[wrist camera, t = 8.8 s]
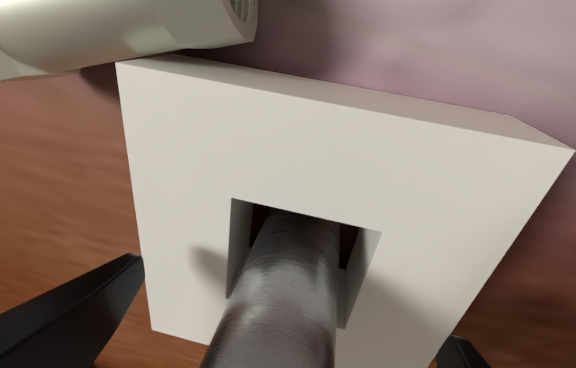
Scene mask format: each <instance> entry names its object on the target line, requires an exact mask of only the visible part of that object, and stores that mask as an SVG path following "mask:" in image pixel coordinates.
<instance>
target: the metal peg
mask: <svg viewBox="0 0 576 368" xmlns="http://www.w3.org/2000/svg"><path fill="white" fill-rule="evenodd" d="M339 248H340V222H336V221H332V220H327V219H323V218H319V217H314V216H310V215H305V214H301V213H297V212H292V211H288V210H283V209H279V208H275V207H270V209H269V211H268V213H267V215H266V218H265V220H264V222H263V224H262V227H261V229H260V231H259V233H258V236H257V238H256V240H255V243H254V245H253V247H252V249H251V252H250V254H249V256H248V258H247V261H246V263H245V265H244V267H243V270H242V272H241V274H240V277H239V279H238V281H237V283H236V286H235V288H234V290H233V292H232V295H231V297H230V299H229V301H228V304H227V306H226V308H225V310H224V313H223V315H222V317H221V320H220V322H219V324H218V326H217V329H216V331H215V333H214V335H213V338H212V340H211V342H210V344H209V347H208V349H207V351H206V354H205V356H204V358H203V360H202V363H201V365H200V367H199V368H335V348H336V323H337V298H338V273H339Z"/></svg>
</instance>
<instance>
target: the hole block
mask: <svg viewBox="0 0 576 368" xmlns="http://www.w3.org/2000/svg"><path fill="white" fill-rule="evenodd" d="M115 66H116V73H117V80H118V87H119V95H120V102H121V109H122V116H123V124H124V131H125V138H126V145H127V153H128V160H129V167H130V174H131V181H132V189H133V196H134V203H135V210H136V218H137V225H138V232H139V239H140V246H141V254H142V258H143V261H144V269H145V283H146V290H147V297H148V304H149V312H150V319H151V326H152V330H155V331H159V332H162V333H166V334H169V335H173V336H177V337H180V338H184V339H187V340H191V341H195V342H198V343H202V344H205V345H209V344H210V342H211V340H212V338H213V335H214V333H215V331H216V329H217V326H218V324H219V322H220V320H221V317H222V315H223V313H224V310H225V308H226V306H227V304H228V301H229V299H230V297H231V295H232V292H233V290H234V288H235V286H236V283H237V281H238V279H239V277H240V274H241V272H242V270H243V267H244V265H245V263H246V261H247V258H248V256H249V254H250V252H251V249H252V247H249V245H250V236H251V226H252V216H253V207H254V203H257V204H261V205H266V206H270V207H275V208H279V209H283V210H288V211H292V212H297V213H301V214H305V215H310V216H314V217H319V218H323V219H327V220H332V221H336V222H340V223H345V224H349V225H354V226H358V227H360V228H359V231H358V234H357V237H356V240H355V243H354V246H353V249H352V252H351V255H350V258H349V261H348V264H347V267H346V270H344V269H340V268H339V273H338V298H337V323H336V348H335V368H427V367H428V366H429V364H430V363H431V361H432V360H433V359H434V357H435V356H436V354H437V353H438V350H439V349H440V347H441V346H442V344H443V343H444V341H445V340H446V339H447V337H448V336H449V335H450V334H451V332H452V331H453V329H454V328H455V326H456V325H457V323H458V322H459V321H460V319H461V318H462V316H463V315H464V313H465V312H466V310H467V309H468V307H469V306H470V304H471V303H472V302H473V300H474V299H475V297H476V296H477V294H478V293H479V291H480V290H481V288H482V287H483V285H484V284H485V283H486V281H487V280H488V278H489V277H490V275H491V274H492V272H493V271H494V269H495V268H496V266H497V265H498V263H499V262H500V261H501V259H502V258H503V256H504V255H505V253H506V252H507V250H508V249H509V247H510V246H511V244H512V243H513V242H514V240H515V239H516V237H517V236H518V234H519V233H520V231H521V230H522V228H523V227H524V225H525V224H526V223H527V221H528V220H529V218H530V217H531V215H532V214H533V212H534V211H535V209H536V208H537V206H538V205H539V204H540V202H541V201H542V199H543V198H544V196H545V195H546V193H547V192H548V190H549V189H550V187H551V186H552V185H553V183H554V182H555V180H556V179H557V177H558V176H559V174H560V173H561V171H562V170H563V168H564V167H565V166H566V164H567V163H568V161H569V160H570V158H571V157H572V155H573V154H574V152H575V151H576V150H575V149H573V148H571V147H569V146H567V145H565V144H563V143H561V142H559V141H558V140H556V139H554V138H552V137H550V136H548V135H546V134H544V133H542V132H540V131H539V130H537V129H535V128H533V127H531V126H529V125H527V124H525V123H523V122H522V121H520V120H518V119H516V118H514V117H512V116H510V115H505V114H500V113H494V112H489V111H484V110H478V109H473V108H467V107H462V106H456V105H451V104H446V103H440V102H435V101H429V100H424V99H418V98H413V97H408V96H402V95H397V94H391V93H386V92H380V91H375V90H370V89H364V88H359V87H353V86H348V85H342V84H337V83H332V82H326V81H321V80H315V79H310V78H304V77H299V76H293V75H288V74H283V73H277V72H272V71H266V70H261V69H255V68H250V67H245V66H239V65H234V64H228V63H223V62H217V61H212V60H207V59H201V58H196V57H190V56H185V55H179V54H172V55H165V56H157V57H150V58H143V59H135V60H128V61H121V62H115Z"/></svg>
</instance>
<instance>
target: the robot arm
mask: <svg viewBox="0 0 576 368" xmlns="http://www.w3.org/2000/svg"><path fill="white" fill-rule="evenodd" d="M144 280H145V269H144V261H143V258H142V256H140V255H136V254H132V253H127V254H125V255H123V256H120V257H118V258H116V259H114V260H112V261H110V262H108V263H106V264H104V265H102V266H100V267H98V268H96V269H93V270H91V271H89V272H87V273H85V274H83V275H81V276H79V277H77V278H75V279H73V280H71V281H68V282H66V283H64V284H62V285H60V286H58V287H56V288H54V289H52V290H50V291H48V292H46V293H43V294H41V295H39V296H37V297H35V298H33V299H31V300H29V301H27V302H25V303H23V304H21V305H18V306H16V307H14V308H12V309H10V310H8V311H6V312H4V313H2V314H0V368H90V366H91V365H92V364H93V362H94V361H95V359H96V358H97V356H98V355H99V354H100V352H101V351H102V349H103V348H104V347H105V345H106V344H107V342H108V341H109V340H110V338H111V337H112V335H113V334H114V332H115V331H116V329H117V327H118V326H119V324H120V322H121V321H122V319H123V317H124V315H125V314H126V312H127V310H128V309H129V307H130V305H131V303H132V302H133V300H134V298H135V296H136V295H137V293H138V291H139V289H140V288H141V286H142V284H143V282H144ZM437 368H491V367H490V366H489V364H488V363H487V362H486V361H485V360H484V358H483V357H482V356H481V355H480V354H479V352H478V351H477V350H476V349H475V348H474V346H473V345H472V344H471V343H470V342H469V341H468V340H467V339H466V338H463V337H459V336H456V335H449V336H448V337H447V339H446V340H445V341H444V343H443V344H442V346H441V347H440V349H439V350H438V353H437Z"/></svg>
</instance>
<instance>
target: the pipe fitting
mask: <svg viewBox="0 0 576 368" xmlns="http://www.w3.org/2000/svg"><path fill="white" fill-rule="evenodd" d="M257 23H258V0H0V82H5V81H21V80H33V79H45V78H53V77H59V76H65V75H70V74H76V73H80V70H81V68H82V67H88V66H93V65H98V64H104V63H109V62H115V61H120V60H125V59H131V58H136V57H142V56H147V55H153V54H158V53H164V52H169V51H174V50H180V49H185V48H192V49H215V48H220V47H226V46H231V45H237V44H242V43H248V42H253V41H254V38H255V33H256V29H257Z"/></svg>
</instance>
